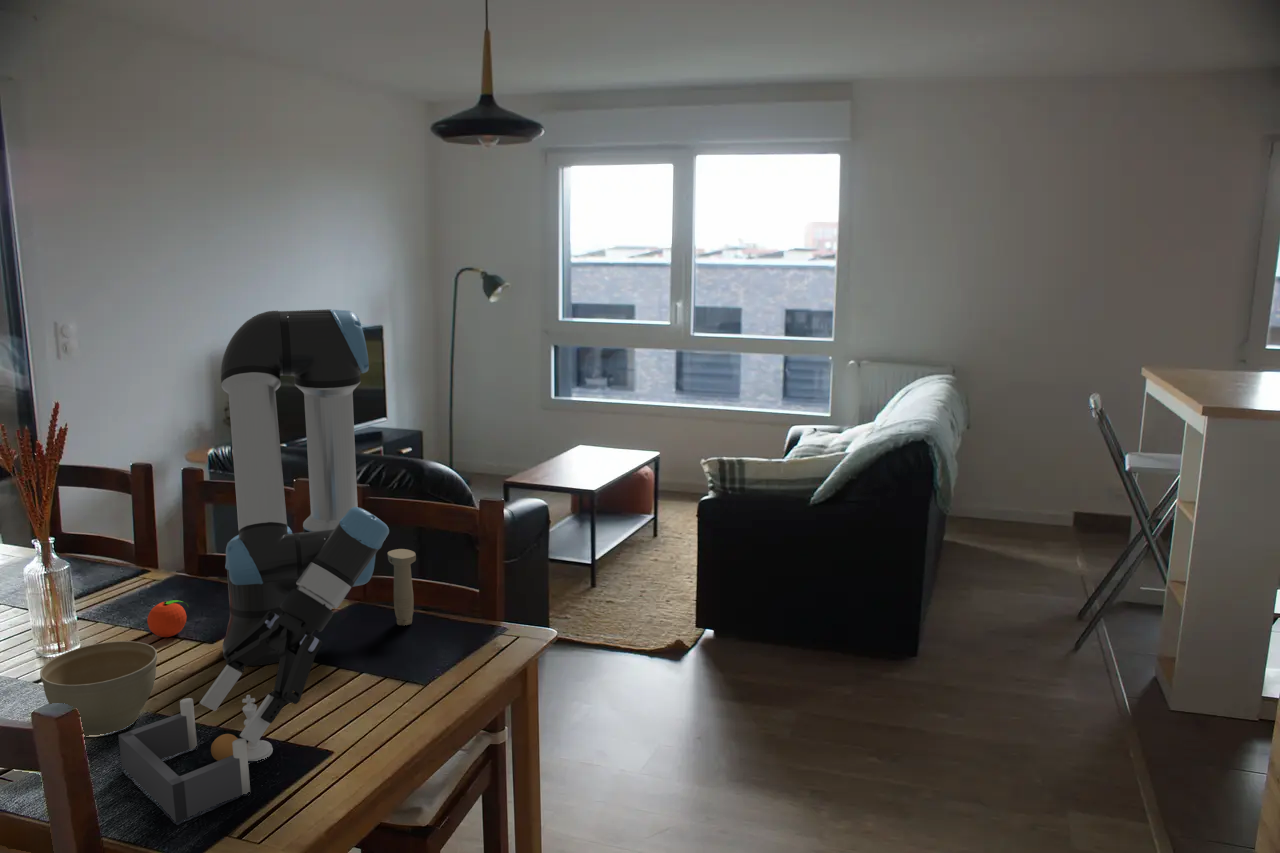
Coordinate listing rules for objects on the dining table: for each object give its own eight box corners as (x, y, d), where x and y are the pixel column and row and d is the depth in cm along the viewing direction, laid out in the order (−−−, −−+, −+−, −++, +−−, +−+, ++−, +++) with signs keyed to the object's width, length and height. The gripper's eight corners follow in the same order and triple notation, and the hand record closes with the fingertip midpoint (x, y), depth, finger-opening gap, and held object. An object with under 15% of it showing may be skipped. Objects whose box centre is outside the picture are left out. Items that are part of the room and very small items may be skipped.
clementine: (181, 624, 189) (178, 591, 188) (200, 632, 185) (197, 598, 184) (142, 637, 182) (138, 603, 181) (160, 646, 179) (156, 611, 177)
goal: (194, 744, 143) (189, 696, 142) (252, 793, 131) (248, 741, 129) (122, 772, 136) (116, 722, 134) (176, 826, 123) (171, 772, 122)
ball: (238, 760, 141) (212, 770, 138) (228, 736, 142) (203, 745, 139) (248, 750, 139) (222, 760, 136) (238, 725, 140) (212, 735, 137)
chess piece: (243, 745, 143) (236, 687, 140) (276, 743, 143) (269, 685, 141) (233, 764, 138) (225, 705, 135) (267, 762, 139) (260, 703, 136)
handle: (402, 631, 186) (399, 560, 183) (386, 622, 191) (382, 552, 188) (423, 624, 190) (420, 554, 187) (406, 615, 194) (403, 547, 191)
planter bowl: (82, 761, 138) (74, 694, 136) (27, 731, 147) (19, 667, 145) (183, 716, 152) (177, 654, 150) (128, 691, 160) (122, 632, 158)
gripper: (374, 632, 138) (285, 764, 131) (293, 589, 155) (210, 703, 147) (339, 609, 134) (245, 745, 126) (259, 567, 150) (172, 684, 142)
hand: (226, 723), depth 137 cm, fingers open, 13 cm apart
